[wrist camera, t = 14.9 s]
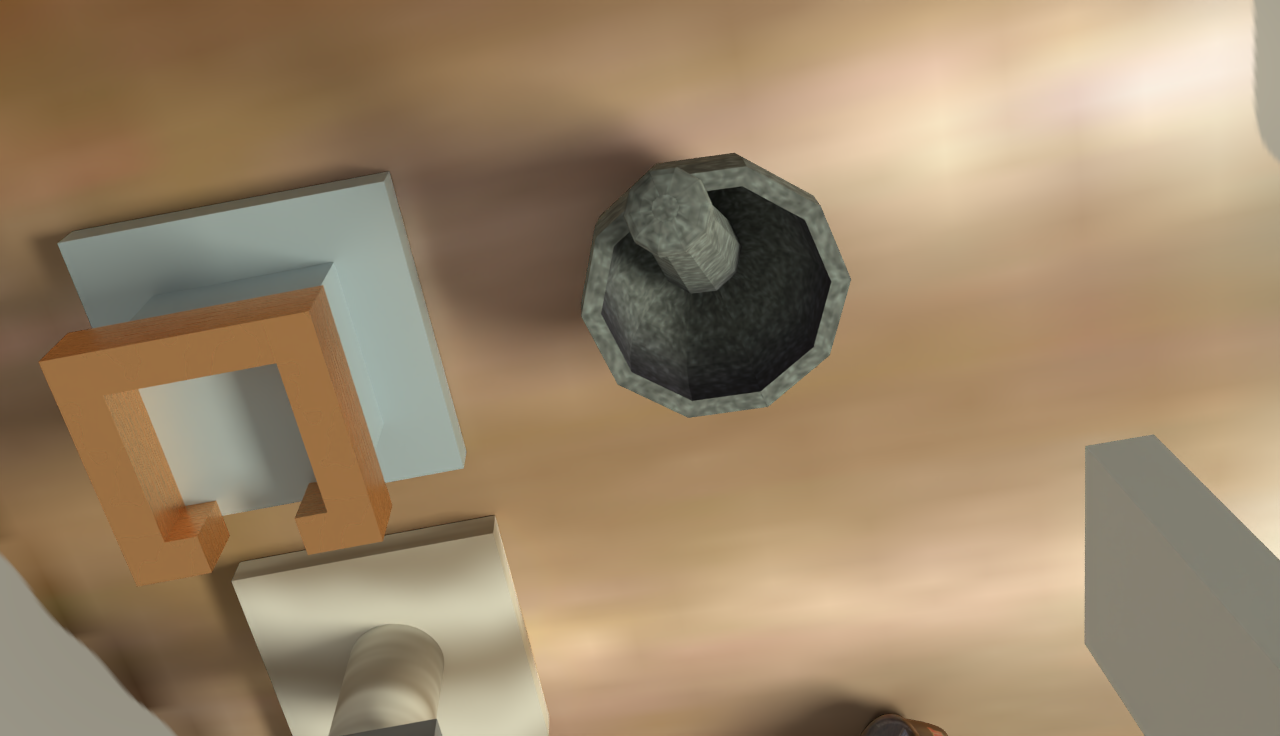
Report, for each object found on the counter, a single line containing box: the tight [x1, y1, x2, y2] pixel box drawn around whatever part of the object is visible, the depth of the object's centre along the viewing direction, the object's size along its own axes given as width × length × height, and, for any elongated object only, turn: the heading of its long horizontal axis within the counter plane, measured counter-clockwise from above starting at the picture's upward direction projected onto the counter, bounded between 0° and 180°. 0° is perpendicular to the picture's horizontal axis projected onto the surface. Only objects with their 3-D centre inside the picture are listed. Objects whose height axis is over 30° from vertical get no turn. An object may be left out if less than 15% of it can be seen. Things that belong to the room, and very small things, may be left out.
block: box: [57, 171, 466, 516], centre depth 45 cm, size 13×13×7 cm
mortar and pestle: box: [581, 153, 851, 418], centre depth 42 cm, size 11×9×12 cm
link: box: [39, 285, 392, 586], centre depth 41 cm, size 9×9×2 cm
